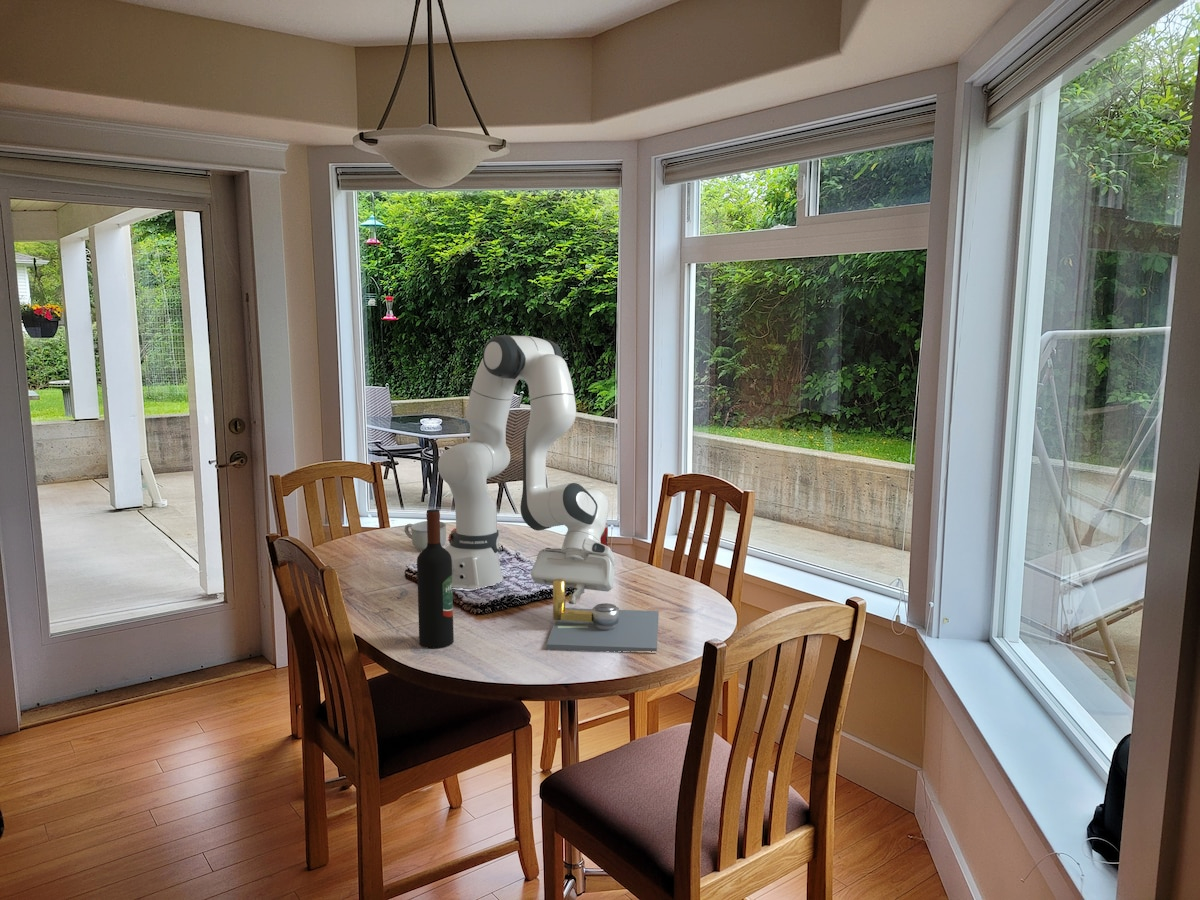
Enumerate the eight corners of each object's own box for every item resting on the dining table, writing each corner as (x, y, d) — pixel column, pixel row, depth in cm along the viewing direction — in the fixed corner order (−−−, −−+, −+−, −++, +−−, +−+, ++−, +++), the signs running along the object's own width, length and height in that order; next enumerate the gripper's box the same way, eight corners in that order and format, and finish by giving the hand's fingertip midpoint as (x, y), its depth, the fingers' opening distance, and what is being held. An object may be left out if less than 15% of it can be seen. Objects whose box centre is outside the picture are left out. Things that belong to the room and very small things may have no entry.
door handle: (620, 617, 199) (620, 580, 198) (616, 626, 193) (616, 588, 192) (556, 613, 202) (556, 576, 201) (550, 621, 196) (549, 584, 195)
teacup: (453, 548, 269) (453, 523, 268) (429, 556, 260) (428, 530, 259) (421, 542, 277) (420, 518, 275) (396, 549, 268) (395, 524, 266)
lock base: (546, 649, 186) (546, 639, 186) (560, 612, 210) (560, 604, 210) (656, 653, 184) (656, 643, 184) (658, 615, 208) (658, 607, 208)
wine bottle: (421, 636, 194) (417, 507, 189) (455, 635, 194) (452, 506, 190) (417, 649, 186) (413, 514, 182) (452, 648, 187) (449, 514, 183)
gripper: (536, 540, 209) (520, 591, 201) (615, 548, 202) (601, 600, 194) (544, 553, 214) (528, 603, 206) (621, 561, 207) (608, 613, 199)
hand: (564, 602), depth 200 cm, fingers closed
